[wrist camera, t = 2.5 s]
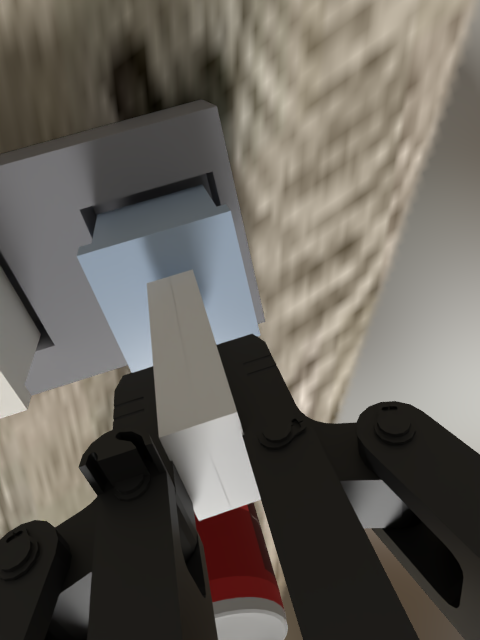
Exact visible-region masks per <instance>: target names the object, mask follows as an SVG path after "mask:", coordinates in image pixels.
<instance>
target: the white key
mask: <svg viewBox="0 0 480 640" xmlns="http://www.w3.org/2000/svg"><path fill="white" fill-rule="evenodd" d="M40 336H41V334H40V332H39V330H38V329H37V327H36V325H35V323H34V322H33V320H32V318H31V317H30V315H29V313H28V312H27V310H26V308H25V307H24V305H23V303H22V301H21V300H20V298H19V296H18V295H17V293H16V291H15V290H14V288H13V286H12V284H11V283H10V281H9V279H8V278H7V276H6V274H5V273H4V271H3V269H2V267H1V266H0V418H3V417H6V416H10V415H13V414H16V413H19V412H22V411H25V410H27V409H28V406H29V402H30V399H31V394H30V393H29V391H28V390H27V388H26V387H25V382H26V379H27V376H28V372H29V369H30V366H31V363H32V360H33V357H34V354H35V351H36V348H37V345H38V342H39V339H40Z"/></svg>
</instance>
